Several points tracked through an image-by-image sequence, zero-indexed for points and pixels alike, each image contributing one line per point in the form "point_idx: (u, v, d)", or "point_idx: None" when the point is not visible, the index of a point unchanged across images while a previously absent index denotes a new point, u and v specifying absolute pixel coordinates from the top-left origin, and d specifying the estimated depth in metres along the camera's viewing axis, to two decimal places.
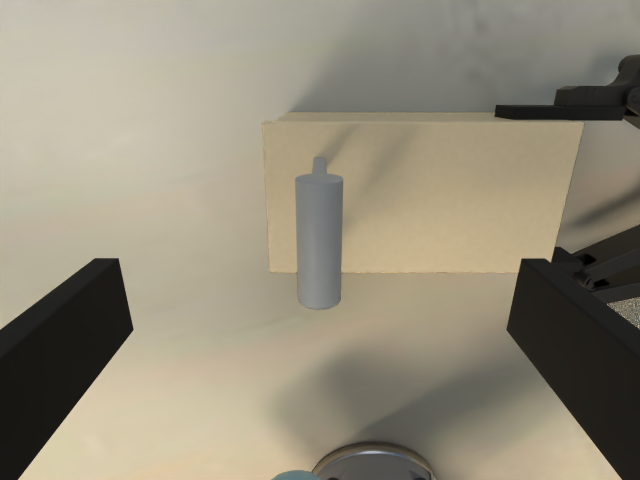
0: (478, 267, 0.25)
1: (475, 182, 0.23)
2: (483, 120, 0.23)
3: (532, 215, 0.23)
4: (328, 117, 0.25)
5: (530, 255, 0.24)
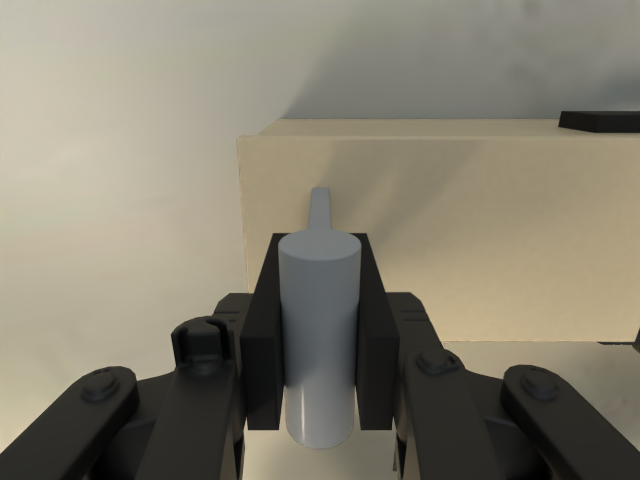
0: (538, 335, 0.18)
1: (542, 222, 0.16)
2: (554, 134, 0.16)
3: (619, 267, 0.17)
4: (332, 128, 0.18)
5: (611, 320, 0.18)
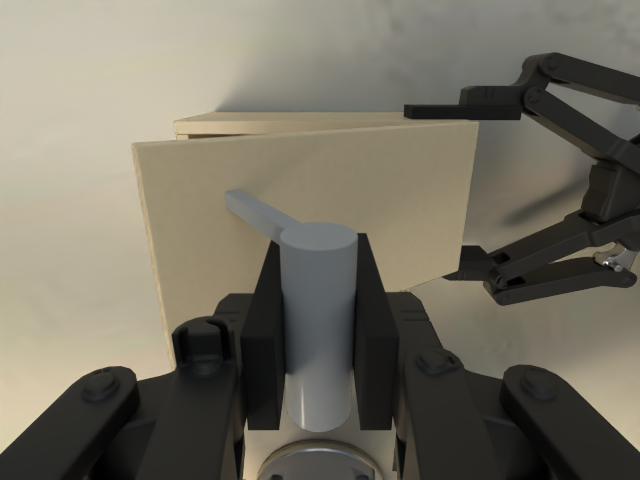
0: (407, 283, 0.23)
1: (402, 194, 0.20)
2: (381, 120, 0.23)
3: (446, 219, 0.23)
4: (236, 117, 0.25)
5: (445, 258, 0.24)
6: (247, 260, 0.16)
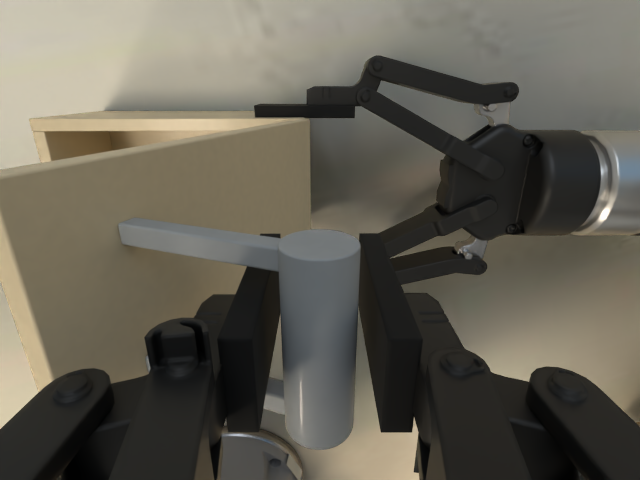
0: None
1: (270, 194, 0.20)
2: (223, 118, 0.25)
3: (300, 211, 0.24)
4: (101, 115, 0.27)
5: None
6: (151, 303, 0.13)
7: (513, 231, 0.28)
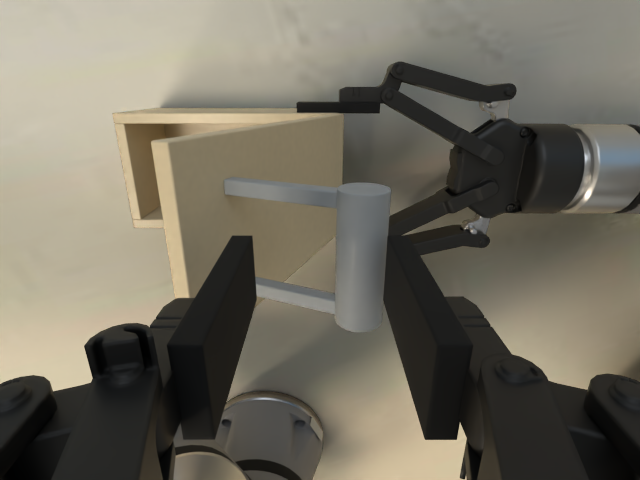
0: (319, 245, 0.28)
1: (313, 172, 0.25)
2: (271, 113, 0.30)
3: None
4: (166, 111, 0.32)
5: (335, 221, 0.31)
6: None
7: (512, 210, 0.33)
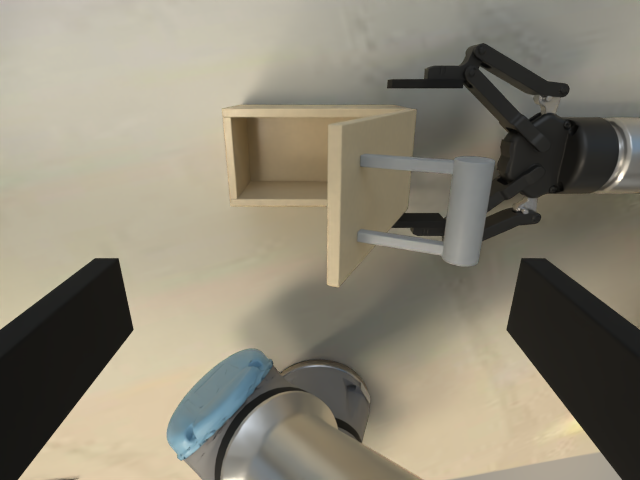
0: (396, 218, 0.34)
1: (398, 156, 0.31)
2: (354, 108, 0.36)
3: (407, 172, 0.35)
4: None
5: (405, 200, 0.36)
6: (361, 203, 0.24)
7: (554, 191, 0.39)
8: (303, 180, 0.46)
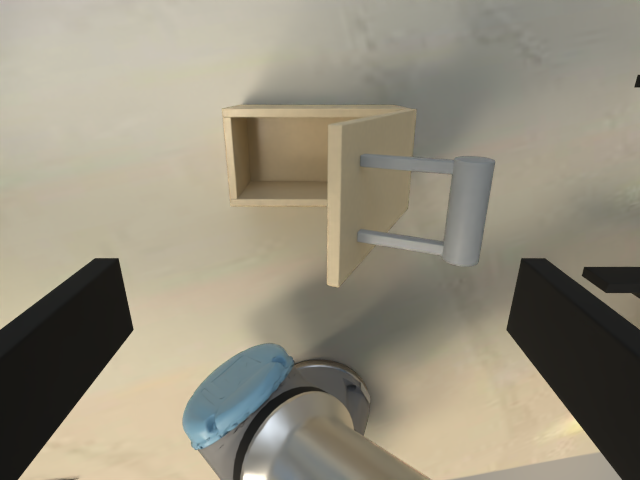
0: (396, 218, 0.34)
1: (398, 156, 0.31)
2: (354, 108, 0.36)
3: (407, 172, 0.35)
4: None
5: (405, 200, 0.36)
6: (361, 203, 0.24)
7: None
8: (303, 180, 0.46)
